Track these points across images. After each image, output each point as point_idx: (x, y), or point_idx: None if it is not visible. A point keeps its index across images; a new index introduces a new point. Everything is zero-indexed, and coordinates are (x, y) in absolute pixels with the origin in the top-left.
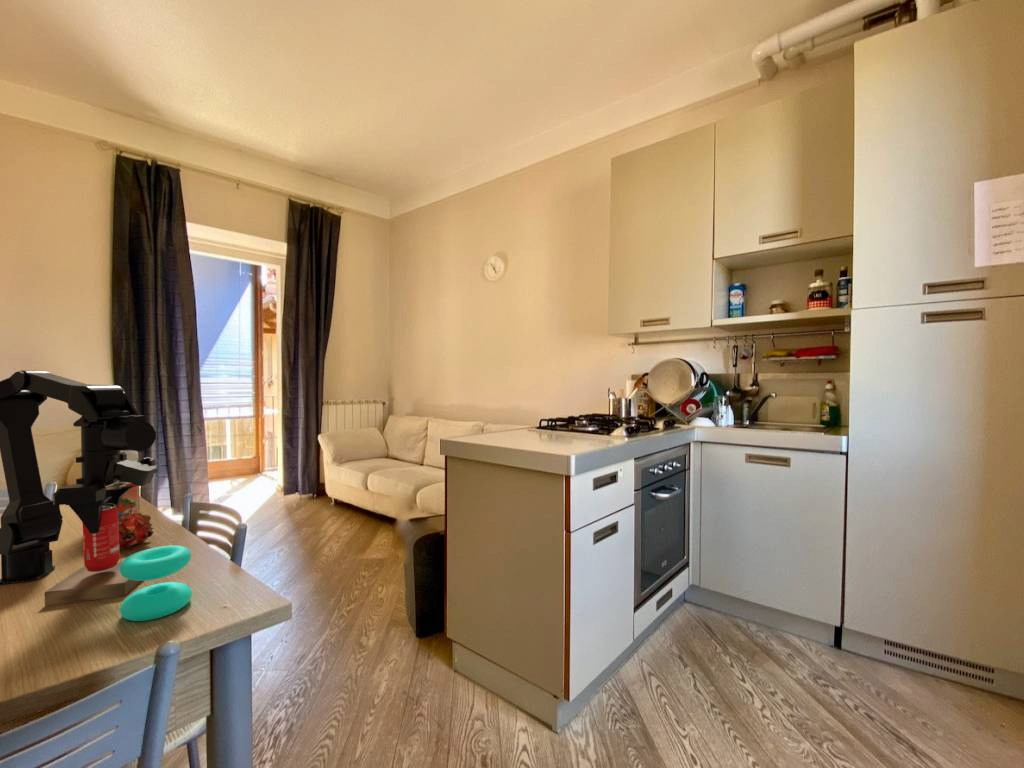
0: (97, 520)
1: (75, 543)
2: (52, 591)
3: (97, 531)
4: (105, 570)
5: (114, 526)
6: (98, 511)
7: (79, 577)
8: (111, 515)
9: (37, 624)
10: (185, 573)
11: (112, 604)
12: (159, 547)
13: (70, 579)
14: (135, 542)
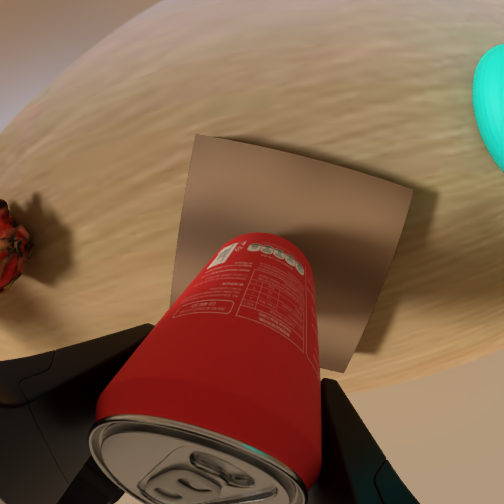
0: (375, 442)
1: (4, 326)
2: (350, 359)
3: (339, 385)
4: None
5: (275, 316)
6: (415, 499)
7: None
8: (283, 393)
9: (446, 337)
10: (295, 42)
11: (442, 210)
12: None
13: None
14: (23, 228)
